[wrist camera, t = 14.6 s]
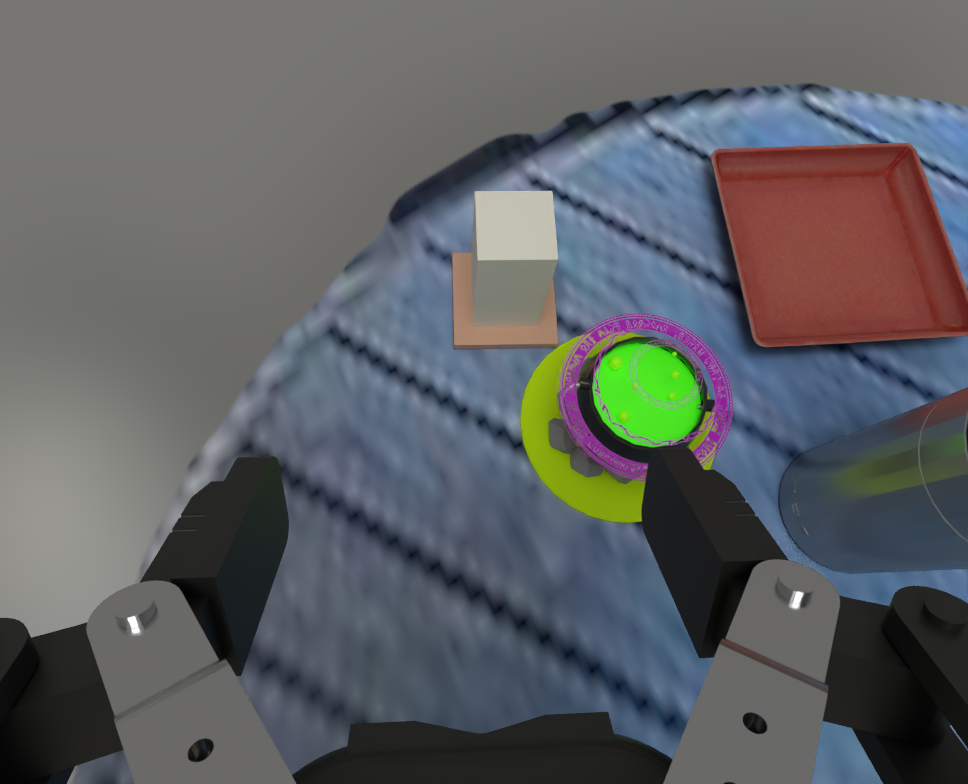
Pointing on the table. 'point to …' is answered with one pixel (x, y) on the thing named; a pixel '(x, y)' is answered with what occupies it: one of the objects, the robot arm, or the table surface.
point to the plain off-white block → (512, 257)
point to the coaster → (496, 336)
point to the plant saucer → (839, 245)
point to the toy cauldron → (619, 414)
